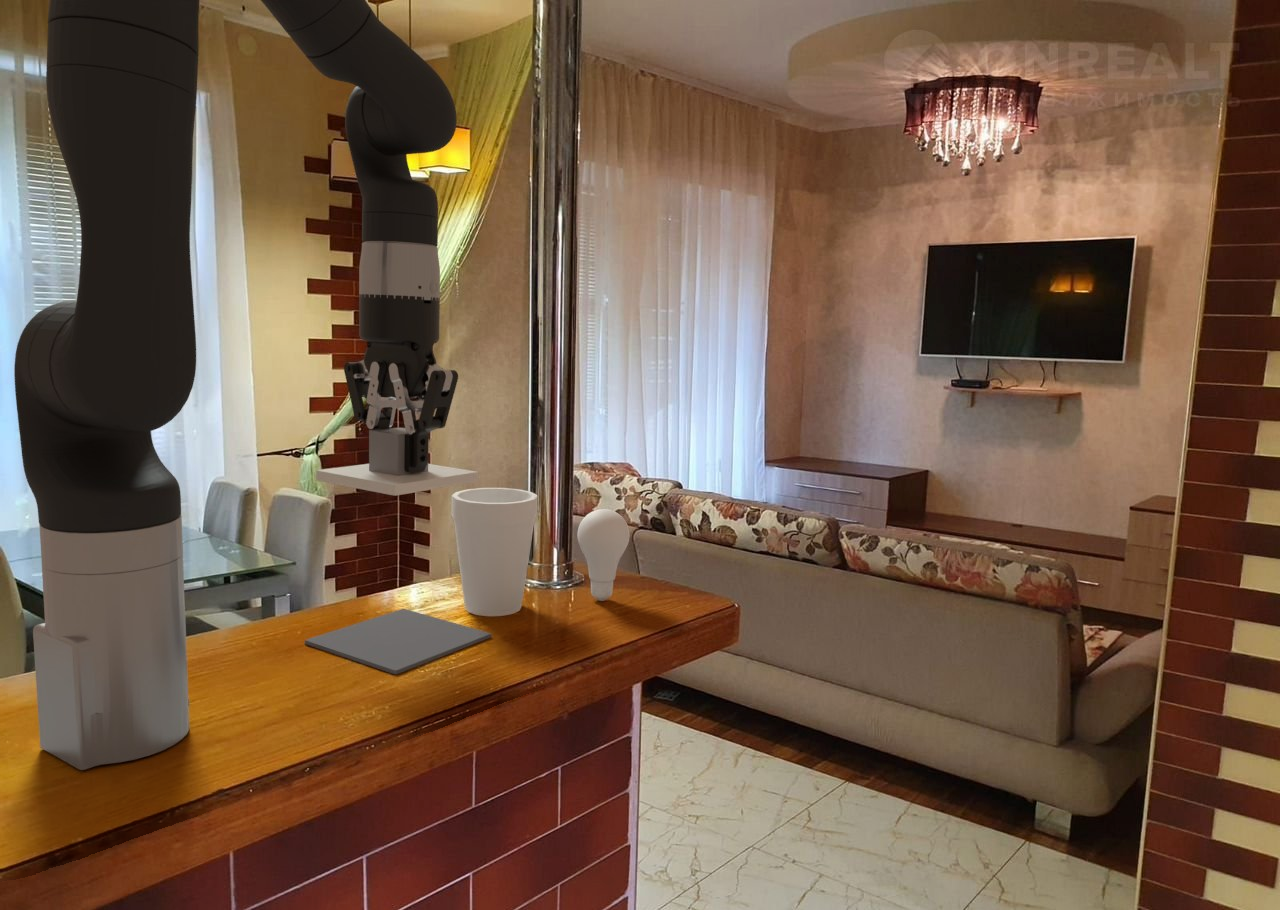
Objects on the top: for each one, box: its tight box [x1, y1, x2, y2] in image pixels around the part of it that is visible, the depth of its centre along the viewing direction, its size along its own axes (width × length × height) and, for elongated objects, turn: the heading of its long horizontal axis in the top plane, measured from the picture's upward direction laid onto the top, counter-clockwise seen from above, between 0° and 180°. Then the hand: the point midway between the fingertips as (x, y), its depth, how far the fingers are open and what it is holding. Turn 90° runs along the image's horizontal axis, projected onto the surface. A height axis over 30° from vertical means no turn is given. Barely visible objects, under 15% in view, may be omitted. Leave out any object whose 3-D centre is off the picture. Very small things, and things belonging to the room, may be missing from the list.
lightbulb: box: [576, 508, 631, 602], centre depth 110 cm, size 6×6×11 cm
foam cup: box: [451, 487, 538, 617], centre depth 106 cm, size 10×9×13 cm
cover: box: [315, 427, 480, 496], centre depth 93 cm, size 11×11×5 cm
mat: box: [304, 608, 492, 676], centre depth 96 cm, size 13×13×1 cm
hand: (398, 468), depth 93 cm, fingers closed on cover, 4 cm apart
